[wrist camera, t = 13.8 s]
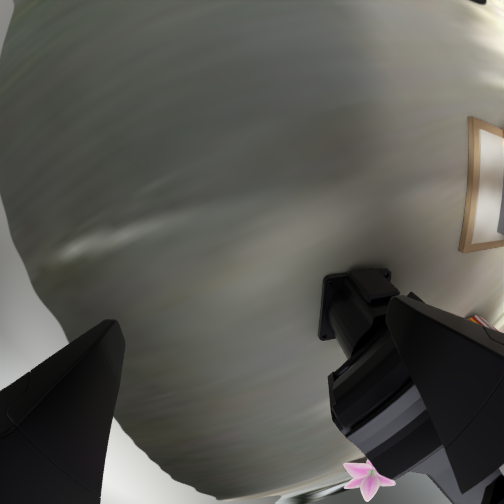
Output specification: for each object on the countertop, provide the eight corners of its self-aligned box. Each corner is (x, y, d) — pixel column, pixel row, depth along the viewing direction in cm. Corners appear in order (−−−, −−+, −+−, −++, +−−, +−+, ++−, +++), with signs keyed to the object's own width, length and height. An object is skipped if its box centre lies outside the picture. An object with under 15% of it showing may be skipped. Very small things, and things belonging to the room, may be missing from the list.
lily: (399, 435, 40) (407, 464, 30) (391, 470, 39) (395, 497, 30) (344, 442, 43) (344, 472, 34) (341, 476, 43) (339, 504, 33)
